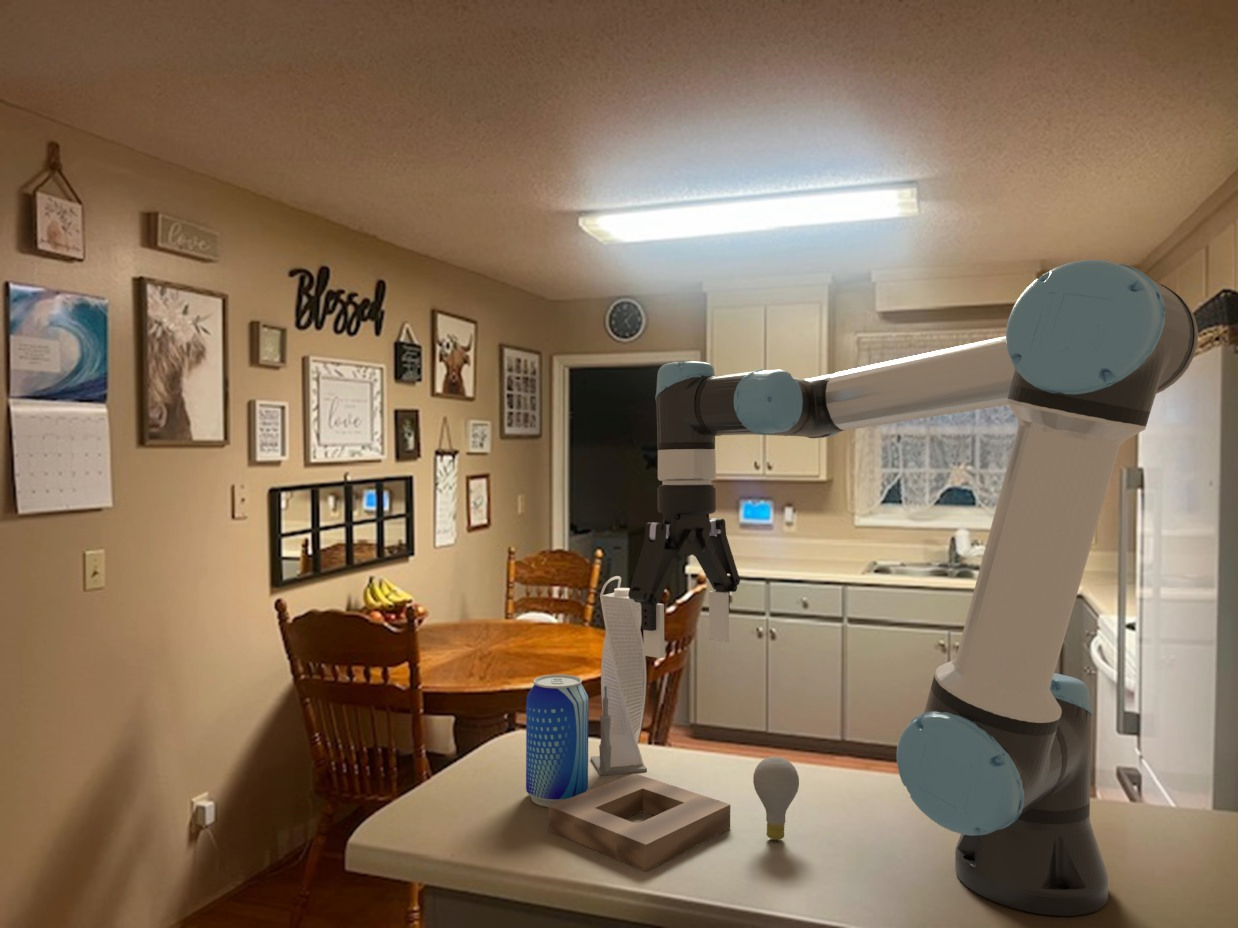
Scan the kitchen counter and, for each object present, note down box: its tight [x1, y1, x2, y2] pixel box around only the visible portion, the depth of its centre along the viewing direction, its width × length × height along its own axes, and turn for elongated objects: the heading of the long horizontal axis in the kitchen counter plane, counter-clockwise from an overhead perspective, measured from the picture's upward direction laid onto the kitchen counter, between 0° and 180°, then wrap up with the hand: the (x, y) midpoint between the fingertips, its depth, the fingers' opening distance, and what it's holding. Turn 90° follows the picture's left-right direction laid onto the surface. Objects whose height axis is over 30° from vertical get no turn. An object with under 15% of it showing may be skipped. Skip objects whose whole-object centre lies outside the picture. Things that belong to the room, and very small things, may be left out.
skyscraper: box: [590, 575, 648, 776], centre depth 134 cm, size 8×8×28 cm
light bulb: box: [752, 756, 800, 842], centre depth 107 cm, size 6×6×10 cm
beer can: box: [525, 674, 590, 808], centre depth 120 cm, size 8×8×16 cm
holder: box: [548, 772, 731, 872], centre depth 110 cm, size 16×16×3 cm
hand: (688, 648), depth 114 cm, fingers open, 13 cm apart
